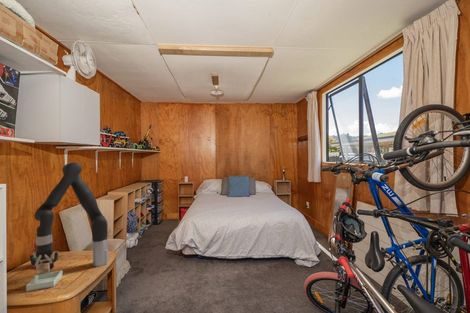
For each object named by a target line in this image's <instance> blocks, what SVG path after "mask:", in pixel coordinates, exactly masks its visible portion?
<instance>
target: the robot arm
mask: <svg viewBox="0 0 470 313" xmlns="http://www.w3.org/2000/svg"><path fill="white" fill-rule="evenodd" d="M82 168H83V167H82V165H81V164H80V163H78V162H69V163H66V164H65V165H64V166H63V167H62V173H63V175H62V177H61V179H60V180H59V182H58V183H57V184H56V186H54V187H53V189H52V190H51V192H50V193H49V194H48V195H47V198H46V199H45V201H44V202H43V203H42V204H41V205H40V206H39V207H38V208H37V209H36V211H35V212H34V215H33V216H34V217H33V218H34V220H35V221H37V222H39V225H38V226H37V227H36V240H35V242H36V254H32V253H31V254H30V255H29V260H30V265H31V266H32V265H35V268H36V265H37V264H38V263H39V262H40V261H41V260H44V259H45V260H46V259H47V260H48V261H49V262H50V270H51V269H52V270H53V269H54V267H55V263H56V262H57V261H58V260H59V253H60V251H59V250H56V251H54V250H53V234H52V233H53V230H52V229H53V228H52V226H53V224H54V218H55V216H54V215H55V214H54V211H52V210H53V209H54V208H56V207H57V206H59V205H60V203H61V200H62V199H63V197H64V196H65V194H66V192H67V191H68V189H69V188H70V187H71V188H72V191H73V192H74V194H75V196H76V199H77V200H78V203H79V204H80V206H81V207H82V209H83V210H84V211H85V212H86V214H87V215H88V217H89V220H90V223H91V234H92V235H91V236H92V237H91V244H92V246H91V248H92V266H93V267H95V268H96V267H102V266H104V265H108V263H109V260H110V259H109V247H108V235H109V234H108V233H109V232H108V220H107V219H106V217H105V216H104V214H103V213H102V212H101V210H100V208H99V205H98V202H97V199H96V196H95V195H94V193H93V192H92V189H91V188H90V187H89V186H88V185H87V183H85V181H84V180H83V179H82V177H81V172H82V170H83V169H82ZM52 255H53V256H52ZM36 256H37V257H38V259H37V261H35V257H36ZM53 257H54V258H53ZM52 270H51V271H52Z"/></svg>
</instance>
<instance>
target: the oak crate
mask: <svg viewBox="0 0 470 313" xmlns="http://www.w3.org/2000/svg"><path fill="white" fill-rule="evenodd" d="M52 270H53V269H51V270H50V262H49V261H48V260H42V261H40V262H39V263H38V264H37V265H36V269H35V272H36V274H35V276H36V275H41V274H47V273H49V272H52Z"/></svg>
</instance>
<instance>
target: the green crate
mask: <svg viewBox="0 0 470 313" xmlns="http://www.w3.org/2000/svg"><path fill="white" fill-rule="evenodd" d="M63 275H64V274H63V270H61V269H60V270H57V271H56V270H55V271H50V272H49V273H47V274H41V275H36V274H35V276H34V277H33V278H32V279H31V280H30V281H29V282H28V283H27V284H26V285H25V286H26V287H25V291H26V293H27V292H31V291H36V290H37V291H38V290H43V289H49V288H54V287H55V286H56V285H57V283H58V282H59V281H60V280H61V278H62V277H63Z"/></svg>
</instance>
